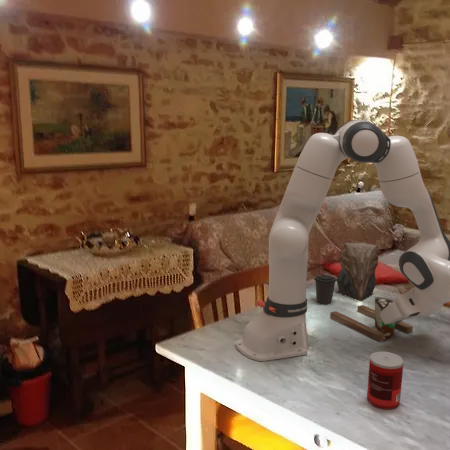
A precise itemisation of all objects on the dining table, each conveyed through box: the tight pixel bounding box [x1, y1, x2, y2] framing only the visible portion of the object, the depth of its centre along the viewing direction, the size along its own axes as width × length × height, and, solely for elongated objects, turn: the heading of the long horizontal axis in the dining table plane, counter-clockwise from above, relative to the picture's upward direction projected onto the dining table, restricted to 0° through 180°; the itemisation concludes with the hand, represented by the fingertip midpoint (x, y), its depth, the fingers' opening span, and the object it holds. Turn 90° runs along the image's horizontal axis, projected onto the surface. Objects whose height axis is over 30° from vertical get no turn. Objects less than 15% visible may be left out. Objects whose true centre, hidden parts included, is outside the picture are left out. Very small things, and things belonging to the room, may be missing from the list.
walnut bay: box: [329, 304, 414, 343], centre depth 172 cm, size 15×22×2 cm
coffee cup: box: [313, 274, 337, 306], centre depth 192 cm, size 8×8×10 cm
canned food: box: [366, 351, 404, 410], centre depth 124 cm, size 8×8×11 cm
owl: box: [336, 241, 379, 302], centre depth 200 cm, size 13×13×20 cm
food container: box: [374, 296, 396, 339], centre depth 165 cm, size 12×6×10 cm, turn 176°
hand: (395, 320), depth 162 cm, fingers closed
